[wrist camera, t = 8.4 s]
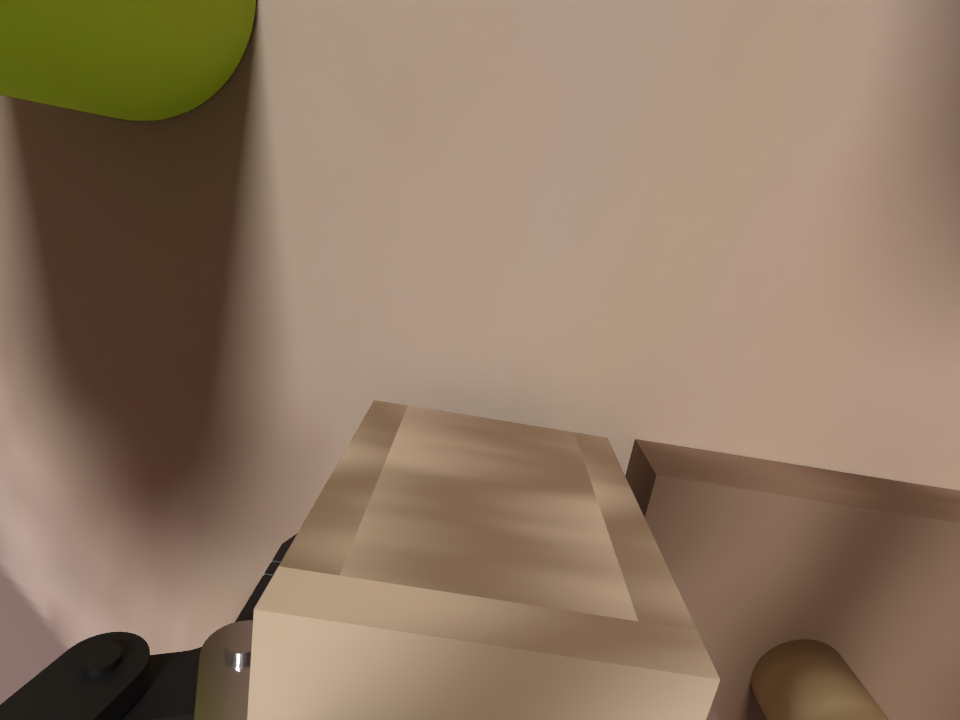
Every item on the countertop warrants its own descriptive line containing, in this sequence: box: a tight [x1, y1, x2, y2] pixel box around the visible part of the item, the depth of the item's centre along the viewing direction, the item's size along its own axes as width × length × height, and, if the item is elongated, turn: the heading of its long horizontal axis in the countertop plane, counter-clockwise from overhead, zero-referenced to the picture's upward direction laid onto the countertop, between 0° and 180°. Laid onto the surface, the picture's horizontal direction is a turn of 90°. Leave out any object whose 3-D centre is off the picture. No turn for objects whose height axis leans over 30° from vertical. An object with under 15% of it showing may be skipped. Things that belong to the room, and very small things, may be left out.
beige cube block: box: [247, 400, 720, 720], centre depth 11 cm, size 6×7×7 cm
